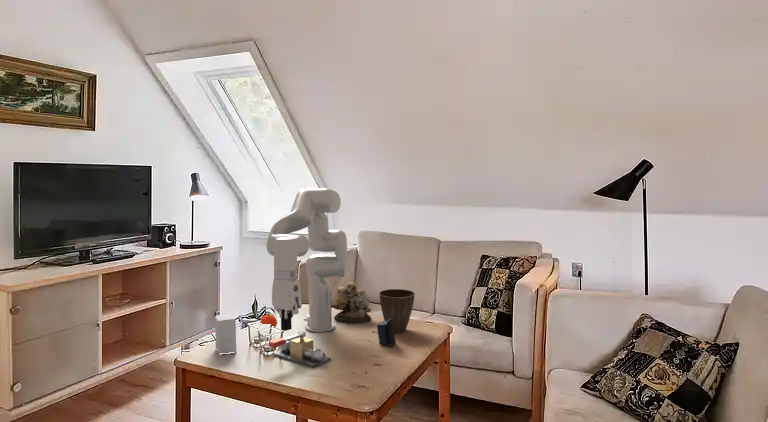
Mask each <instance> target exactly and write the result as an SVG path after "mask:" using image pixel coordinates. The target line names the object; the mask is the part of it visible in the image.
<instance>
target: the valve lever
mask: <svg viewBox="0 0 768 422" xmlns="http://www.w3.org/2000/svg"><path fill="white" fill-rule="evenodd" d="M306 336H307V333H306V331H298V332H297V333H296V334H295V333H294V334H292V335H289V336H285V337H277V338H275V339H271V340H269V341H268V347H269V348H273V349H276V348H280V346H282V345H285V342H288V341H291V340H294V339H297V338H300V337H305V338H306Z"/></svg>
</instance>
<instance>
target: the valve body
mask: <svg viewBox="0 0 768 422" xmlns="http://www.w3.org/2000/svg"><path fill="white" fill-rule="evenodd" d="M279 349H280V350H279V351H276V352H273V356H274V355H276V356H278V357H277V358H279V357H281V358H280V359H282V358H284V359H283V360H286V359H287V361H289V360H290V361H289V362H292V361H294V362H293V363H295V362H297V363H296V364H298V363H300V364H299V365H301V364H303V365H302V366H305V365H306V366H305V367H308V366H309V367H308V368H311V367H312V369H314V367H315V368H317V367H319V366H322V365H324V364H327V363H329V362H332V357H331V356H330V357H329V356H326V353H325V352H323V351H322V350H321V349H320V348H314V339H313V338H307V337H306V336H305V337H300V338H297V339H294V340H291V341H288V342H285V345H282V346H279ZM276 356H275V357H276Z"/></svg>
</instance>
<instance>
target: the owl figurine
mask: <svg viewBox="0 0 768 422" xmlns="http://www.w3.org/2000/svg"><path fill="white" fill-rule="evenodd" d="M335 298H336V299H335V302H334V303H331V308H333V309H334V310H339V311H340V312H338V313H336V314H335V316H334V317H333V319H334V322H338V323H345V324H363V323H367V322H371V320H372V317H371V315H370V314H368V313H371V312H372V308H369V306H370V296H369V295H368V294H367V293H366V291H365V289H362V288H361V289H358V288H357V285H356V283H355V282H351V281H350V282H348V283H347V284H346V287H345V286H344V285H343V286H339V287H338V288H337V293H336V297H335Z"/></svg>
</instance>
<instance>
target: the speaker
mask: <svg viewBox="0 0 768 422" xmlns="http://www.w3.org/2000/svg"><path fill="white" fill-rule="evenodd" d="M376 329H377V335H378V337H377V338H378V341H379V343H378V344H379V345H380V346H389V345H390V348H391V349H392V348H394V346H395V345H396V344H397V342H396V341H397V340H396V336H395V334H396V333H394V327H393V320H392V318H390V319H389V320H388V321H384V320H383V321H382V320H381V321H378V322H377V323H376Z"/></svg>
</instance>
